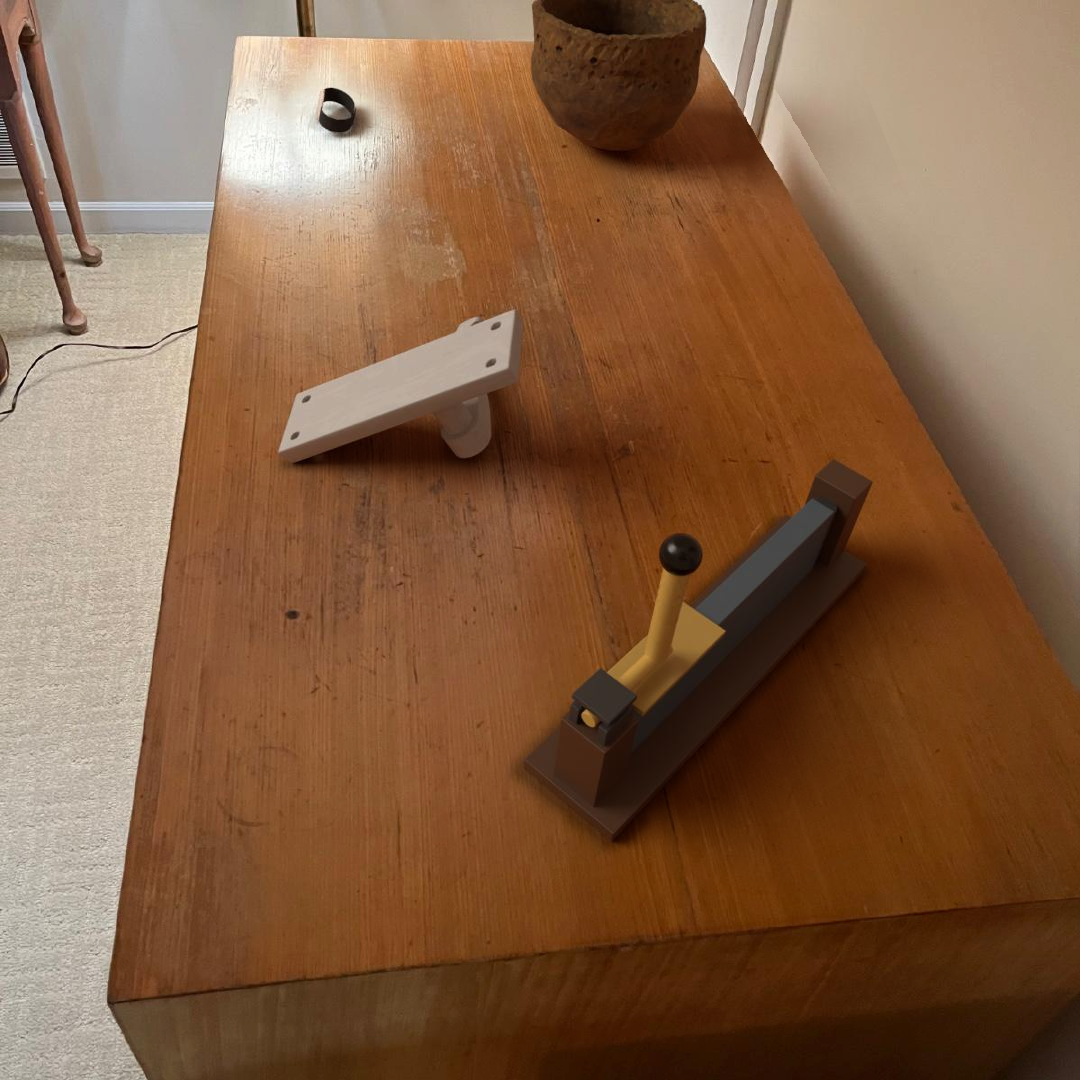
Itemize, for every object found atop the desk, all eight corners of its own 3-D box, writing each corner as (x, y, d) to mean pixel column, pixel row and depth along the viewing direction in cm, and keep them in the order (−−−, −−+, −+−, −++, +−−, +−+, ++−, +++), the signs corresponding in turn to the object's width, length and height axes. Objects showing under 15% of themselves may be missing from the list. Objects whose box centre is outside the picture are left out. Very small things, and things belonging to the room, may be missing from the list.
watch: (317, 106, 119) (313, 75, 117) (357, 106, 120) (355, 75, 117) (314, 137, 114) (310, 105, 112) (356, 137, 115) (354, 106, 112)
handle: (337, 518, 83) (559, 446, 75) (276, 452, 77) (508, 367, 70) (372, 379, 94) (568, 304, 87) (321, 313, 89) (524, 227, 82)
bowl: (528, 97, 124) (536, -36, 113) (681, 110, 125) (703, -22, 114) (520, 172, 112) (528, 30, 101) (690, 186, 112) (717, 46, 101)
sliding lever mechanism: (782, 523, 78) (815, 429, 71) (863, 572, 75) (905, 480, 68) (522, 767, 62) (531, 678, 55) (611, 842, 59) (632, 758, 52)
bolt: (651, 639, 59) (679, 517, 52) (681, 660, 58) (714, 540, 51) (571, 713, 56) (590, 593, 48) (602, 737, 55) (626, 619, 47)
